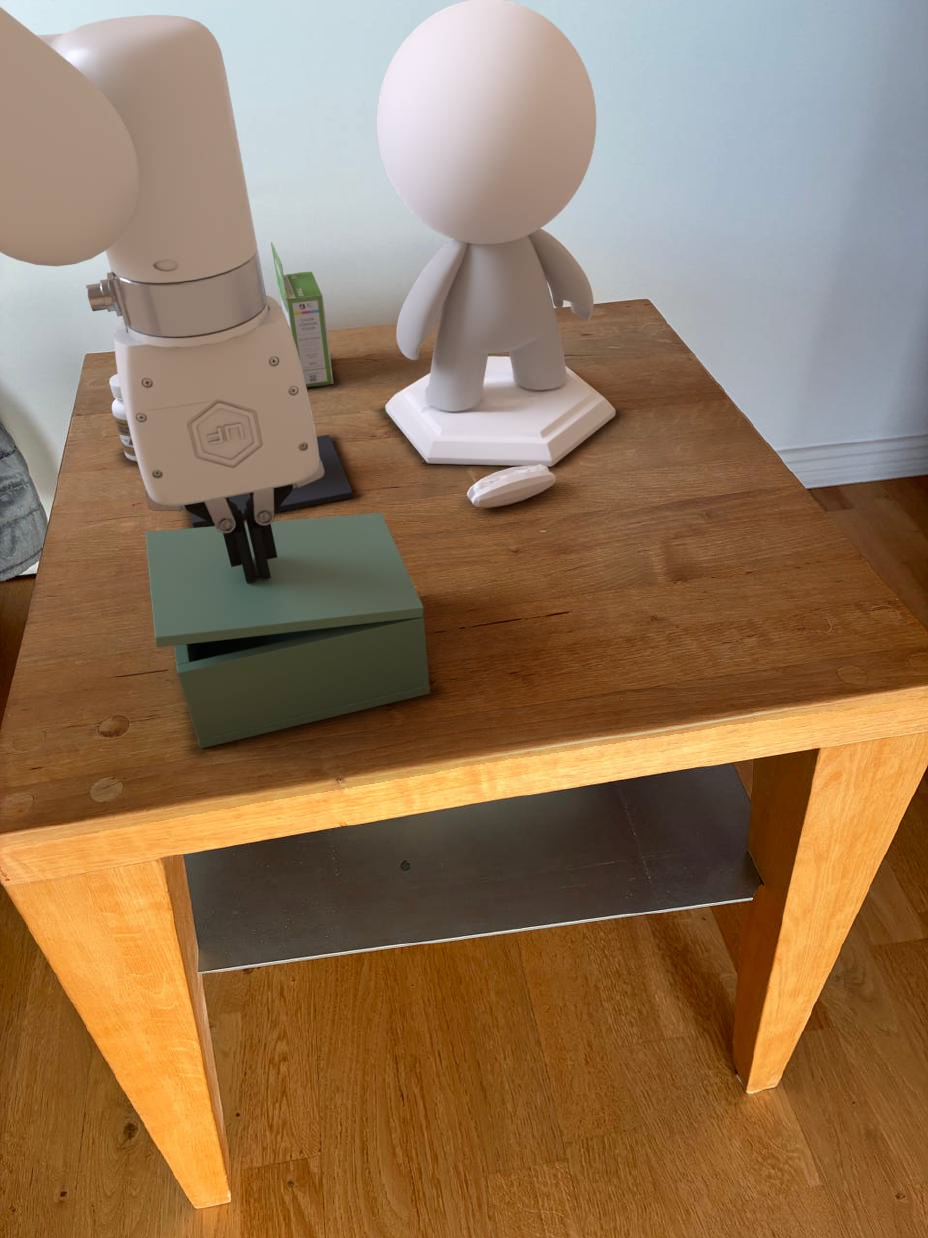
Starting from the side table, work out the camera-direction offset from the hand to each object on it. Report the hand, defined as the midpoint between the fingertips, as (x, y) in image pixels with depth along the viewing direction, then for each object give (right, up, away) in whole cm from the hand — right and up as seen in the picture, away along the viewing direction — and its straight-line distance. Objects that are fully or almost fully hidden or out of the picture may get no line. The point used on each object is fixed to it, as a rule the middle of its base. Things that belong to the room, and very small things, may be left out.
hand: (255, 568), depth 63 cm
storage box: (+2, -7, +6) cm, 9 cm away
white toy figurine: (+17, +17, +34) cm, 42 cm away
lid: (+1, -1, +1) cm, 2 cm away
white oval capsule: (+18, +7, +22) cm, 29 cm away
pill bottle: (-17, +13, +31) cm, 37 cm away
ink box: (-3, +23, +43) cm, 49 cm away
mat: (-5, +9, +26) cm, 28 cm away
